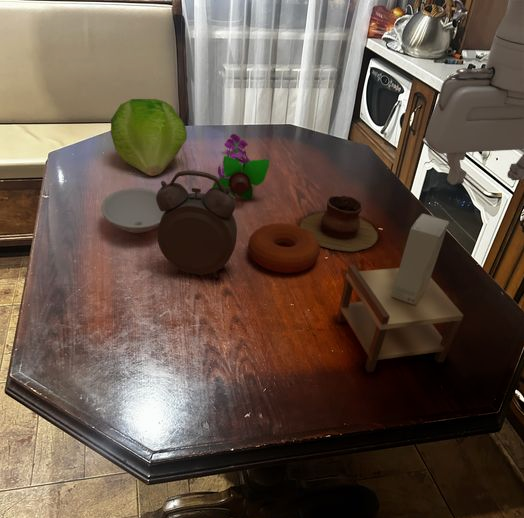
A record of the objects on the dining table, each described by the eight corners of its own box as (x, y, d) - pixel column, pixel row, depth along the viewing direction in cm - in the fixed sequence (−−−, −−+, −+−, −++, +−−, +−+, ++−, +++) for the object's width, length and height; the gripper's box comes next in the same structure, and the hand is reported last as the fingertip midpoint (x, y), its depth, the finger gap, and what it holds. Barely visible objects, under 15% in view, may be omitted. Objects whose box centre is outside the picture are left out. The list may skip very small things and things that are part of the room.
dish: (104, 209, 116) (101, 188, 112) (168, 207, 119) (167, 187, 115) (104, 250, 103) (100, 228, 100) (176, 247, 106) (175, 225, 103)
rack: (406, 311, 96) (423, 258, 88) (443, 362, 86) (467, 307, 78) (336, 318, 93) (348, 264, 85) (367, 372, 83) (383, 316, 75)
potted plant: (221, 225, 122) (217, 174, 150) (283, 193, 119) (268, 147, 146) (194, 179, 115) (196, 135, 142) (260, 144, 112) (248, 105, 139)
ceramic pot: (333, 205, 126) (338, 178, 121) (393, 235, 117) (401, 206, 113) (283, 227, 116) (286, 198, 111) (344, 261, 107) (351, 231, 102)
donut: (283, 232, 114) (285, 212, 111) (332, 262, 107) (337, 241, 103) (232, 253, 106) (233, 231, 103) (281, 287, 99) (284, 265, 95)
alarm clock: (237, 264, 103) (242, 167, 90) (231, 285, 98) (235, 185, 84) (166, 255, 104) (160, 157, 90) (156, 275, 98) (149, 174, 85)
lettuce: (104, 177, 127) (139, 137, 116) (98, 113, 133) (131, 68, 122) (162, 198, 139) (199, 163, 128) (154, 138, 145) (189, 100, 134)
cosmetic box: (416, 307, 80) (440, 238, 72) (389, 297, 81) (409, 228, 73) (427, 287, 84) (451, 220, 76) (401, 278, 86) (422, 211, 78)
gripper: (461, 76, 56) (427, 196, 65) (614, 74, 60) (562, 186, 70) (433, 61, 60) (405, 175, 70) (577, 60, 65) (533, 167, 74)
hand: (484, 180), depth 70 cm, fingers open, 8 cm apart
